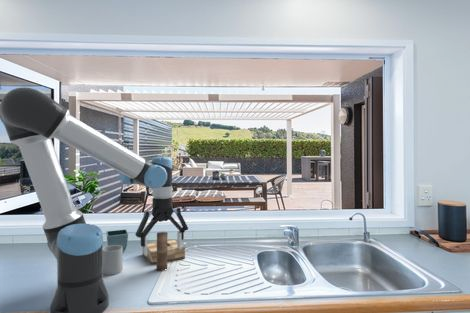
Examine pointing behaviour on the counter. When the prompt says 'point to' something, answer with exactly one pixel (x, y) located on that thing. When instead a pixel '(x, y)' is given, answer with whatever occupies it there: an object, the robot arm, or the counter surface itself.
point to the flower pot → (117, 238)
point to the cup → (112, 259)
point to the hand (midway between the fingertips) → (162, 251)
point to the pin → (161, 251)
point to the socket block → (172, 251)
